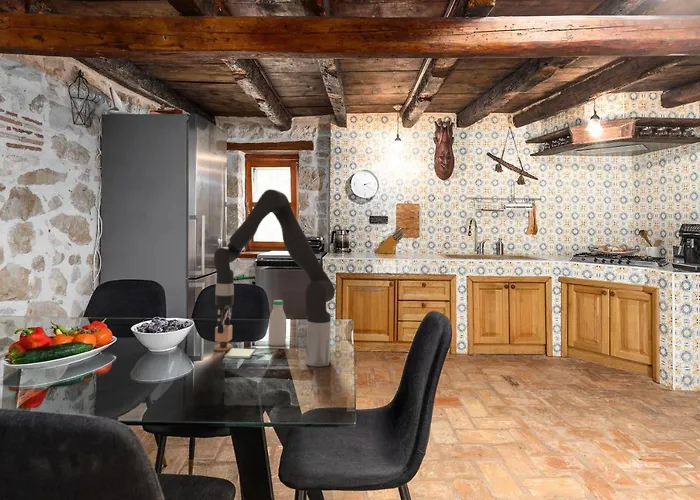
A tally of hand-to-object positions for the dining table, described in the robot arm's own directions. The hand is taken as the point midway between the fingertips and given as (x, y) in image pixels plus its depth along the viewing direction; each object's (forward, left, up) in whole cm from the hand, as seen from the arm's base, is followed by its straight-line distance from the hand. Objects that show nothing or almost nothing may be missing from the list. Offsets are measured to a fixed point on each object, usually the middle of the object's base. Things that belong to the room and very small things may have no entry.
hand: (223, 330), depth 187 cm
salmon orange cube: (0, 0, -4) cm, 4 cm away
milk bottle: (-21, -11, -8) cm, 25 cm away
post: (0, 0, -8) cm, 8 cm away
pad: (-9, +6, -8) cm, 14 cm away
